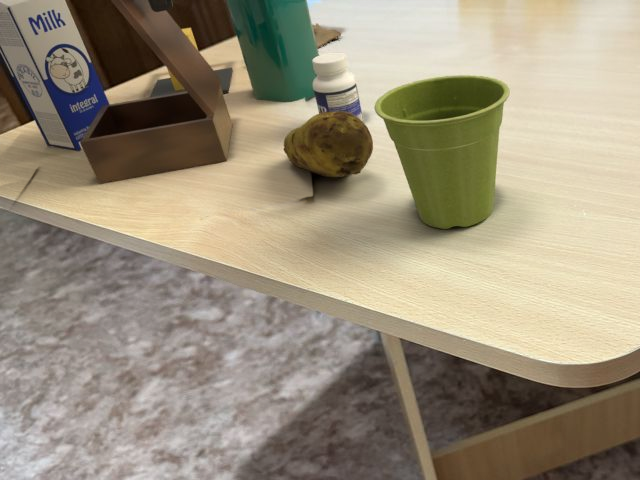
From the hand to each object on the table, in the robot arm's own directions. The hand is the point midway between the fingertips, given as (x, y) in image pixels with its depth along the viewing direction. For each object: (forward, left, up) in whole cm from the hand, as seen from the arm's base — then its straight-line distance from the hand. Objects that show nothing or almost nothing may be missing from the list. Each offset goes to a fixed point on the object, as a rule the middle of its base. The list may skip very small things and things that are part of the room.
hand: (167, 3), depth 76 cm
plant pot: (+25, -28, -17) cm, 41 cm away
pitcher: (+9, +17, -17) cm, 26 cm away
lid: (-2, 0, -4) cm, 4 cm away
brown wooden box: (-5, 0, -17) cm, 18 cm away
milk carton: (-18, +11, -17) cm, 27 cm away
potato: (+14, -15, -17) cm, 27 cm away
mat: (-6, +29, -17) cm, 34 cm away
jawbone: (+9, +43, -17) cm, 47 cm away
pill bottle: (+16, -1, -17) cm, 23 cm away
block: (-6, +29, -16) cm, 34 cm away
